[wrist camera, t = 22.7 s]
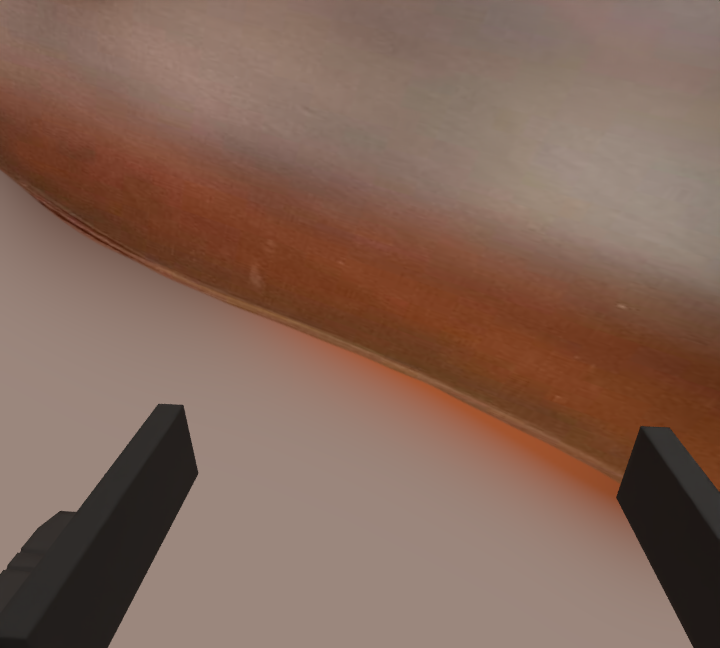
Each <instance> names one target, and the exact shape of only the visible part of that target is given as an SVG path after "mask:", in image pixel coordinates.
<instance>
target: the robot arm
mask: <svg viewBox="0 0 720 648" xmlns="http://www.w3.org/2000/svg"><path fill="white" fill-rule="evenodd" d="M197 475H198V470H197V466H196V461H195V456H194V452H193V447H192V443H191V438H190V433H189V429H188V424H187V419H186V415H185V410H184V406H183V405H172V404H158V405H157V407H156V408H155V409H154V411H153V412H152V413H151V415H150V416H149V417H148V418H147V420H146V421H145V422H144V424H143V425H142V426H141V428H140V429H139V430H138V432H137V433H136V434H135V436H134V437H133V438H132V440H131V441H130V442H129V444H128V445H127V446H126V448H125V449H124V450H123V452H122V453H121V454H120V455H119V457H118V458H117V459H116V461H115V462H114V463H113V465H112V466H111V467H110V469H109V470H108V471H107V473H106V474H105V475H104V477H103V478H102V479H101V481H100V482H99V483H98V485H97V486H96V487H95V489H94V490H93V491H92V492H91V494H90V495H89V496H88V498H87V499H86V500H85V502H84V503H83V504H82V506H81V507H80V508H79V510H78V511H77V512H66V511H60V512H58V513H57V514H56V515H54V516H53V517H52V518H50V519H49V520H48V521H47V522H45V523H44V524H43V525H42V526H40V527H39V528H38V529H37V530H36V531H35V532H34V533H33V535H32V536H31V537H30V538H29V540H28V541H27V542H26V543H25V545H24V546H23V547H22V548H21V552H20V553H17V554H16V556H15V557H14V558H13V559H12V561H11V562H10V563H9V564H8V566H7V569H6V570H3V571H2V573H1V574H0V648H108V646H109V644H110V642H111V640H112V638H113V636H114V634H115V633H116V631H117V629H118V627H119V625H120V623H121V621H122V619H123V617H124V615H125V613H126V611H127V610H128V607H129V606H130V604H131V602H132V600H133V598H134V596H135V594H136V592H137V590H138V588H139V586H140V585H141V583H142V581H143V579H144V577H145V575H146V573H147V571H148V569H149V567H150V565H151V563H152V562H153V560H154V558H155V555H156V554H157V552H158V550H159V548H160V546H161V544H162V542H163V540H164V538H165V537H166V535H167V533H168V531H169V529H170V527H171V525H172V523H173V521H174V519H175V517H176V515H177V514H178V512H179V510H180V508H181V506H182V504H183V502H184V500H185V498H186V496H187V494H188V492H189V491H190V489H191V486H192V485H193V483H194V481H195V479H196V477H197ZM616 498H617V500H618V502H619V504H620V506H621V508H622V510H623V512H624V514H625V515H626V517H627V519H628V521H629V523H630V525H631V527H632V529H633V531H634V533H635V535H636V537H637V539H638V541H639V542H640V545H641V547H642V549H643V550H644V552H645V554H646V556H647V558H648V560H649V562H650V564H651V566H652V568H653V570H654V572H655V574H656V575H657V578H658V580H659V581H660V583H661V585H662V587H663V589H664V591H665V593H666V595H667V597H668V599H669V601H670V603H671V605H672V607H673V609H674V610H675V613H676V614H677V617H678V618H679V620H680V622H681V624H682V626H683V628H684V630H685V632H686V634H687V636H688V638H689V640H690V642H691V644H692V646H693V647H694V648H720V492H719V491H718V490H717V489H716V487H715V486H714V485H713V483H712V482H711V481H710V480H709V478H708V477H707V476H706V474H705V473H704V472H703V470H702V469H701V468H700V467H699V465H698V464H697V463H696V461H695V460H694V459H693V458H692V456H691V455H690V454H689V452H688V451H687V450H686V448H685V447H684V446H683V445H682V443H681V442H680V441H679V439H678V438H677V437H676V436H675V434H674V433H673V432H672V430H671V429H670V428H668V427H646V426H641V427H640V429H639V432H638V435H637V438H636V441H635V444H634V447H633V450H632V453H631V456H630V459H629V462H628V465H627V467H626V470H625V473H624V476H623V479H622V482H621V485H620V488H619V491H618V494H617V497H616Z"/></svg>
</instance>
